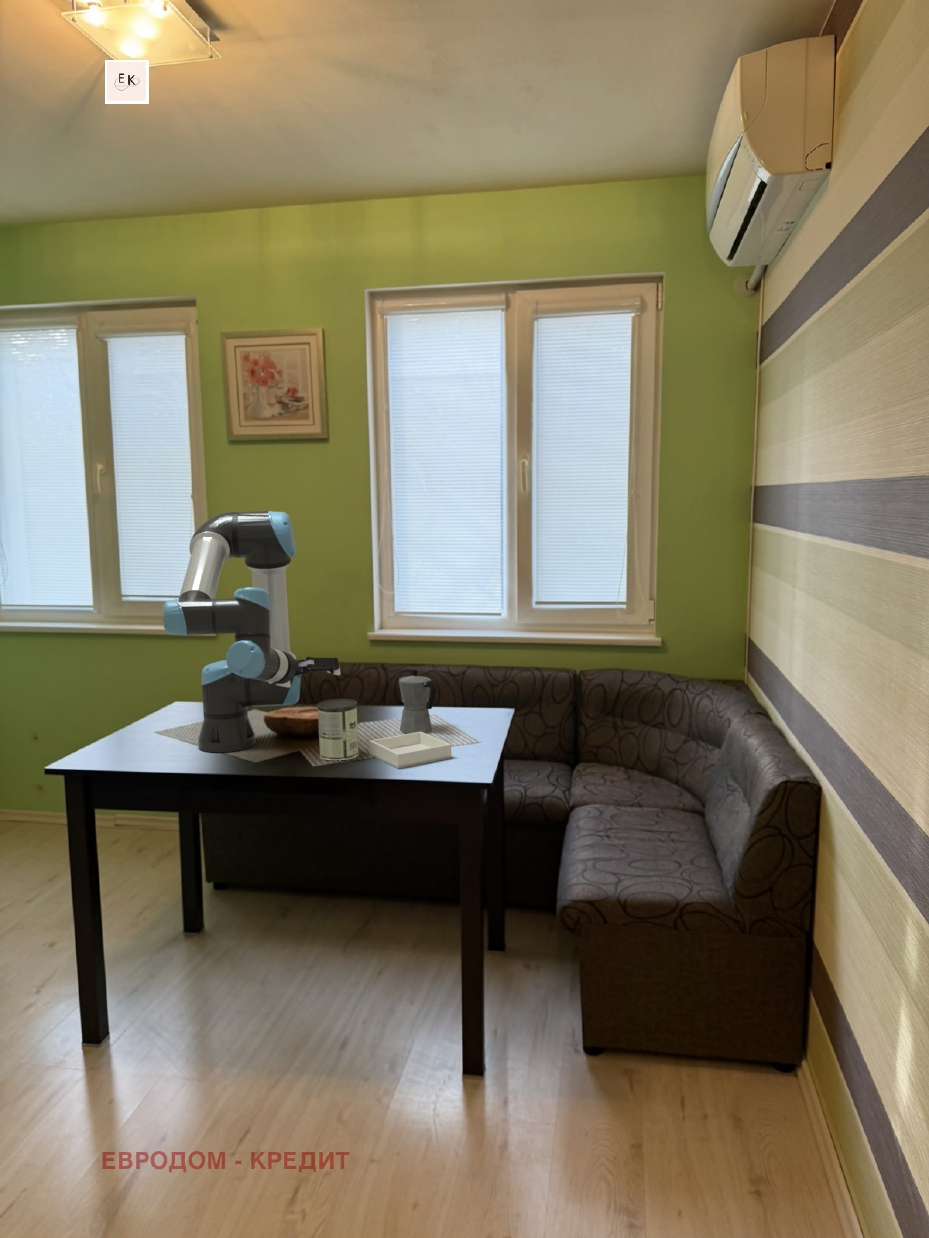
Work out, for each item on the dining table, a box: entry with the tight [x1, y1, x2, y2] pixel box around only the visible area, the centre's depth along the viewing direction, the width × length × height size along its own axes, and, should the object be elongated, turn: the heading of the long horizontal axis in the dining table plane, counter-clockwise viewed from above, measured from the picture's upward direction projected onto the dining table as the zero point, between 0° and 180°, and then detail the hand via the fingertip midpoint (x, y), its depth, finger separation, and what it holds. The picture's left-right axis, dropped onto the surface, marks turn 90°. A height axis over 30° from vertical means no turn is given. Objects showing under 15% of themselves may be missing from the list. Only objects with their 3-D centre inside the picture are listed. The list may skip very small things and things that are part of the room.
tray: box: [368, 732, 452, 770], centre depth 220 cm, size 16×16×4 cm
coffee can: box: [316, 698, 360, 762], centre depth 221 cm, size 10×10×14 cm
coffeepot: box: [398, 668, 437, 735], centre depth 244 cm, size 15×9×18 cm, turn 43°
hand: (313, 675), depth 212 cm, fingers open, 13 cm apart
